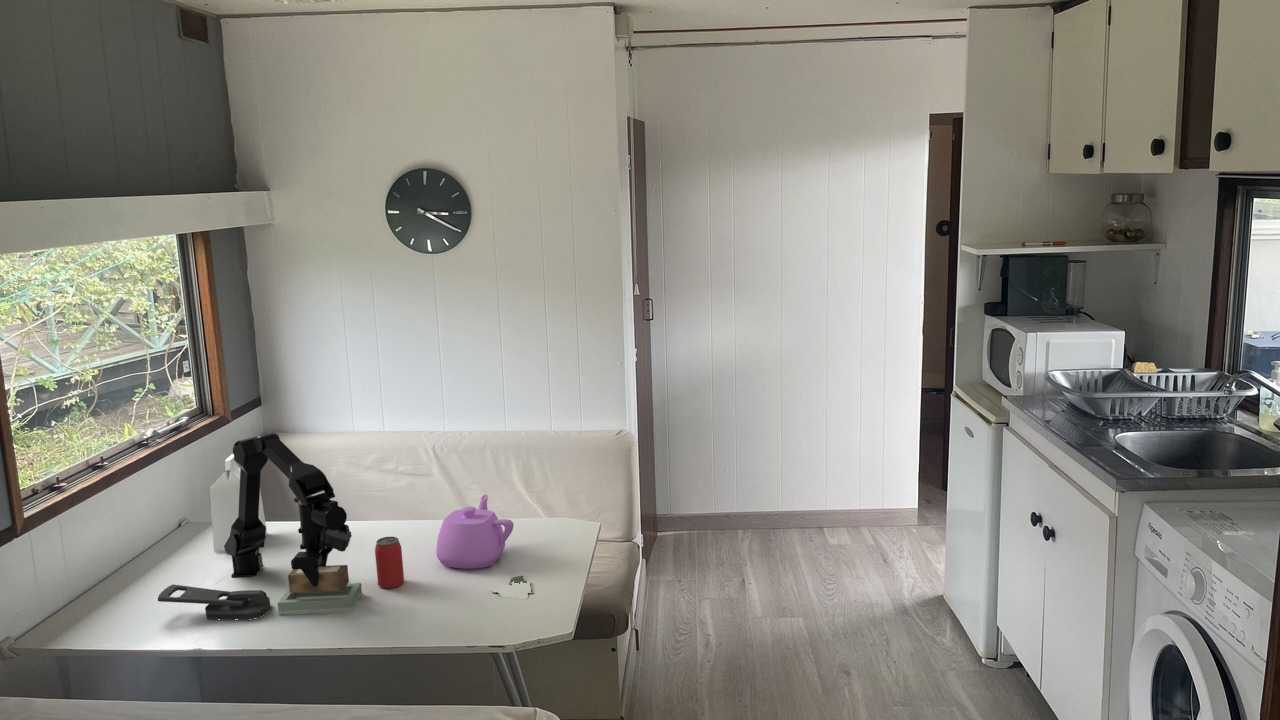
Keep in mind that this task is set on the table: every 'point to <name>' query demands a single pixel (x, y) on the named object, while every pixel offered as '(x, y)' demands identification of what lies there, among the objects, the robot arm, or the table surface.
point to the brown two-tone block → (320, 579)
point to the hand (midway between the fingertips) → (318, 581)
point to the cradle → (320, 601)
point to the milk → (227, 504)
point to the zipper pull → (222, 602)
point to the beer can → (389, 562)
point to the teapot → (472, 537)
